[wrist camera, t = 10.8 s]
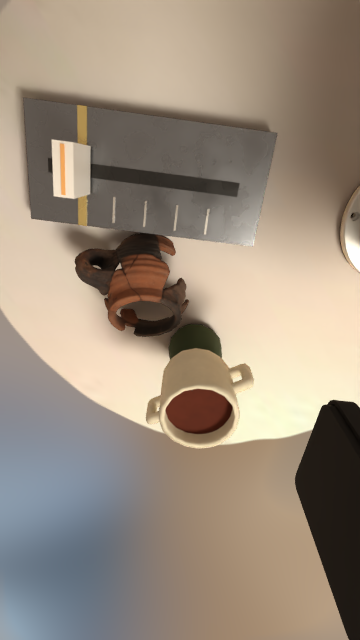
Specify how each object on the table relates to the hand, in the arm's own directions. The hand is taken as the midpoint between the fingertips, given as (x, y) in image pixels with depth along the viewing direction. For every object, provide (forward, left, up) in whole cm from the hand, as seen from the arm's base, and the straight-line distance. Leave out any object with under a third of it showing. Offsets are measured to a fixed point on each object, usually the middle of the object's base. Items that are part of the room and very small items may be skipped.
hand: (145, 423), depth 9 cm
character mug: (-4, +13, -28) cm, 32 cm away
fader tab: (+9, -5, -26) cm, 28 cm away
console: (+3, -5, -28) cm, 29 cm away
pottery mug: (+3, +5, -29) cm, 29 cm away
